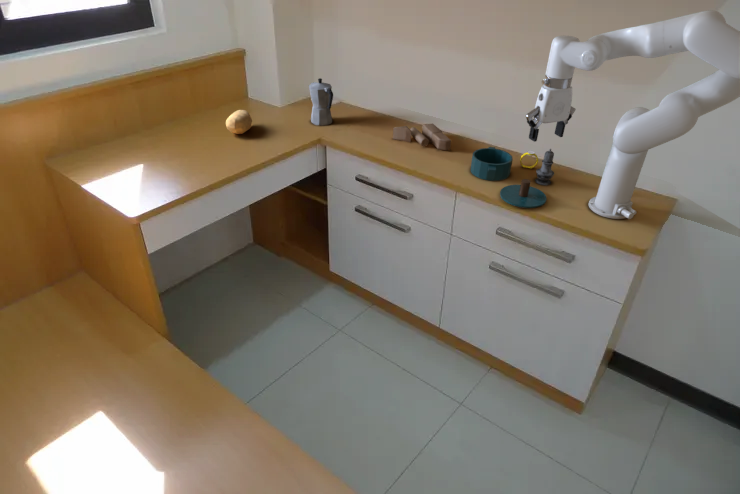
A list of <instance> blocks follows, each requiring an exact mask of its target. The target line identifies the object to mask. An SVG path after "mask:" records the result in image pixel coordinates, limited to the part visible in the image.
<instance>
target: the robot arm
mask: <svg viewBox="0 0 740 494" xmlns="http://www.w3.org/2000/svg"><path fill="white" fill-rule="evenodd" d="M549 49H550V50H549V55H548V59H547V64H546V70H545V74H544V78H543V79H542V80H541V84H542V86H541V87H540V89H539V92H538V95H537V98H536V101H535V105H534V108H533V109H532V110H530V111H529V112H527V113H526V114H525V118H526V123H527V124H528V126H529V127H530V129H529V134H528V139H529V140H530V141H532V142H533V143H535V142H537V141H538V137H539V132H540V129H539V127H540V126H541V125H542V124H552V123H556V125H555V128H554V129H555V130H554V135H555V136H557V137H558V138H563V137H564V134H565V128H566V125H567V124H569V121H570V120H571V119H572V118H573V115H574V114H575V112H576V108H575V107H574V106H572V101H573V86H572V81H573V77H574V73H575V68H576V69H578V70H582V71H586V72H593V71H595V70H596V71H597V70H598V69H599V68H601V66H603V64H604V63H605V62H606V61H610V60H614V59H619V58H625V57H641V58H645V59H656V58H661V57H665V56H668V55H669V56H670V55H674V54H679V53H684V52H690V53H691V54H692V55H694V56H695V57H697V58H699V59H700V60H702V61H703V62H705V63H707V64H709V65H710V66H712V67H713V68H716V69H717V70H716V71H714V72H713V73H712V74H709V75H707V76H705V77H703V78H702V79H700V80H698V81H696V82H693V83H691V84H689V85H687V86H684V87H682V88H680V89H678V90H675V91H672V92H670V93H667V94H666V95H665V96H664V97H663V98H662V99H661V101H660V102H659V104H658V106H656V107H655V108H652V109H650V108H647V107H643V106H638V107H633V108H630V109H628V110H627V111H625V113H623V114H622V115H621V116H620V119H619V120H618V122H617V124H616V127H615V129H614V132H613V134H612V135H613V136H612V143H611V147H610V150H609V154H608V156H607V160H606V164H605V167H604V170H603V173H602V177H601V180H600V183H599V185H598V189H597V193H596V196H594V197H591V198H590V199H589V201H588V208H589V209H590V211H592V212H593V213H594V214H596V215H598V216H601V217H604V218H607V219H613V220H623V219H628V220H631V219H633V218H634V215H637V212H638V211H636V210H635V209H634V208H632V207H633V203H634V202H633V201H632V197H633V195H634V191H635V189H636V186H637V183H638V180H639V177H640V174H641V172H642V169H643V166H644V164H645V160H646V158H647V155H648V151H649V150H651V149H654V148H656V147H659V146H661V145H663V144H666V143H668V142H669V143H670V142H671V141H673V140H676V139H678V138H680V137H682V136H684V135H685V134H687V133H689V132H690V131H691V130H692V129H693V128H695V125H697V122H698V120H699V118H700V117H701V116H703V115H704V116H705V115H706V114H709V113H710V112H713V111H715V110H717V109H719V108H721V107H724V106H726V105H728V104H730V103H732V102H733V101H735V100H737V99H739V98H740V30H738V29H737V28H735V27H733V26H731V25H730V24H728V23H727V22H726V18H725V16H724V15H723V14H722V13H721V12H719V11H718V10H711V9H710V10H709V9H708V10H701V11H698V12H693V13H690V14H685V15H682V16H678V17H673V18H669V19H665V20H660V21H655V22H652V23H646V24H640V25H637V26H632V27H631V26H630V27H626V28H620V29H616V30H612V31H608V32H603V33H600V34H596V35H594V36H591V37H589V38H587V40H586V41H581V40H580V39H579V38H578V37H577V36H573V35H557V36H555V37H554V38H553V39H552V41H551V46H550V48H549Z"/></svg>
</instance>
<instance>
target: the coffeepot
mask: <svg viewBox="0 0 740 494" xmlns="http://www.w3.org/2000/svg"><path fill="white" fill-rule="evenodd" d="M317 81H318V82H317ZM317 81H314V82H310V84H309V85H308V88H309V89H308V90H309V93H310V99H311V102H312V106H311V107H312V109H311V116H310V123H311V124H312V125H315V126H321V127H322V126H328V125H331V124H332V123H333V117H332V112H331V108H332V106H333V100H334V91H333V90H332V89H333V86H332V85H331V83H327V82H323V79H322V78H321V77H320V78H319V77H318V79H317Z"/></svg>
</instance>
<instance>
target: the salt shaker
mask: <svg viewBox="0 0 740 494" xmlns="http://www.w3.org/2000/svg"><path fill="white" fill-rule="evenodd" d="M554 156H555V152H553V150H552V148H549V150H546V151H545V152H544V156H543V159H542V160H541V162H542V164H541V167H540V168H537V169H536V170H535V172H536V177H537V178H535V179H534V182H535V183H536V184H537V185H541V186H550V185H552V181H551V179H552V178H553V176H554V175H555V171H554V170H552V166H553V164H554Z"/></svg>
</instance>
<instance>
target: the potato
mask: <svg viewBox="0 0 740 494" xmlns="http://www.w3.org/2000/svg"><path fill="white" fill-rule="evenodd" d="M252 124H253V119H252V116H251V114H250V112H248V111H247V110H245V109H237V110H236V111H234V112H232V113H231V114H230V115H229V116H228V117H227V118H226V120H225V127H226V129H227V130H228V131H229V132H230V133H233V134H235V135H241V134H244V133H247V131H248V130H250V129H251V128H252Z"/></svg>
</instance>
